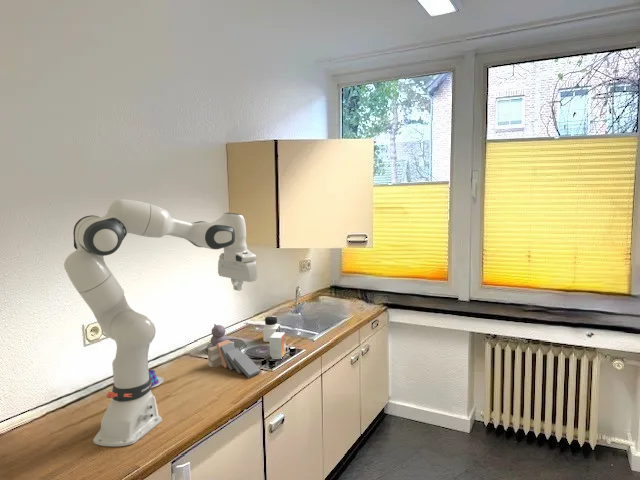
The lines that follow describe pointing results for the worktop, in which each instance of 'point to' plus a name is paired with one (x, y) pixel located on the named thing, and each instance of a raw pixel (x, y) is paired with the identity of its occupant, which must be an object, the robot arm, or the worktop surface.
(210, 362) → the stop
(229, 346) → the domino
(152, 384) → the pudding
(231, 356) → the domino
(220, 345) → the end domino
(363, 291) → the worktop surface
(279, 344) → the small box
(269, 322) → the medicine bottle
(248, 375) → the domino
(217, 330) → the cat figurine
